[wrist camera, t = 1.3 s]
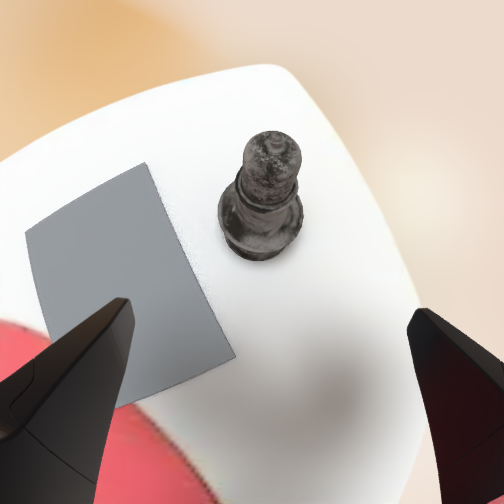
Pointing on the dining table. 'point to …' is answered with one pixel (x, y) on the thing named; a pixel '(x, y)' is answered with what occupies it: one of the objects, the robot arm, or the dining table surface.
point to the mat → (127, 281)
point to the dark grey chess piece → (263, 198)
